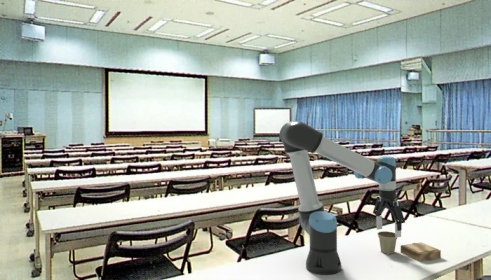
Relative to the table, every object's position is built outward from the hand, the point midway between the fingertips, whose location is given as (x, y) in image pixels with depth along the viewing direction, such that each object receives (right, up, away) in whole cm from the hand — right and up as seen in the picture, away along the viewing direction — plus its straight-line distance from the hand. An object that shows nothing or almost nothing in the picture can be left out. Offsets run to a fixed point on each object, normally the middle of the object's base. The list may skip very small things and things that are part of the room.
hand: (388, 232), depth 182 cm
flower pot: (0, -9, 0) cm, 9 cm away
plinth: (+13, -9, -5) cm, 17 cm away
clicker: (+15, -9, +6) cm, 18 cm away
